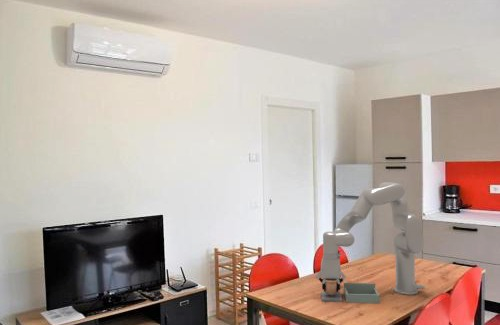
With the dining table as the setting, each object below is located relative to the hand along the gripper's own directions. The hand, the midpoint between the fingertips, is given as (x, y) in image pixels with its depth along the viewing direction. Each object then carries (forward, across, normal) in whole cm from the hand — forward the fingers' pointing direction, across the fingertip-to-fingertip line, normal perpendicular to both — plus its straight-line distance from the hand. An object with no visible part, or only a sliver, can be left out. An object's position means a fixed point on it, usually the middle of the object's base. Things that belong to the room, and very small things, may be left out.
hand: (331, 290), depth 211 cm
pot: (+1, 0, 0) cm, 1 cm away
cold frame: (+4, -15, 0) cm, 16 cm away
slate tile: (+4, 0, 0) cm, 4 cm away
